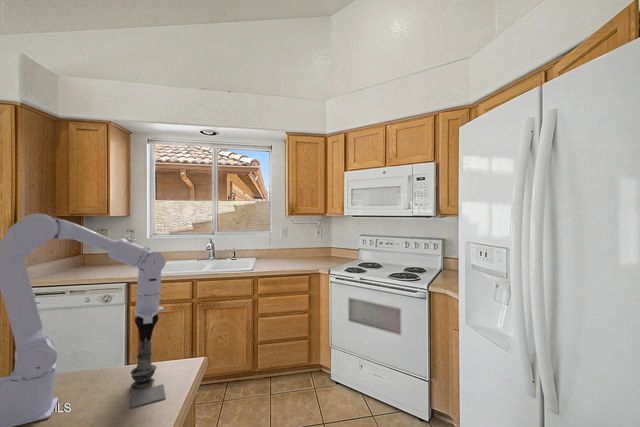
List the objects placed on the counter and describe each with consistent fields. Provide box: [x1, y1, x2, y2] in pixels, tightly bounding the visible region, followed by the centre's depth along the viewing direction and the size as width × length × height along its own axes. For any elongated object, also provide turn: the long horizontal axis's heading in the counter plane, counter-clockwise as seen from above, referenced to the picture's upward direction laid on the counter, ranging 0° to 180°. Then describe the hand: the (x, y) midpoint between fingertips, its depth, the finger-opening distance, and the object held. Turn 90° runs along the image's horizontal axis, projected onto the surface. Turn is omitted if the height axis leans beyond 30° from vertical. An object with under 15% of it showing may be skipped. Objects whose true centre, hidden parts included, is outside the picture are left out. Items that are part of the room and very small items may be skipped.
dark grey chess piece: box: [130, 338, 157, 390], centre depth 74 cm, size 6×6×12 cm
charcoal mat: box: [130, 384, 166, 409], centre depth 68 cm, size 7×7×1 cm
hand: (145, 342), depth 77 cm, fingers closed
